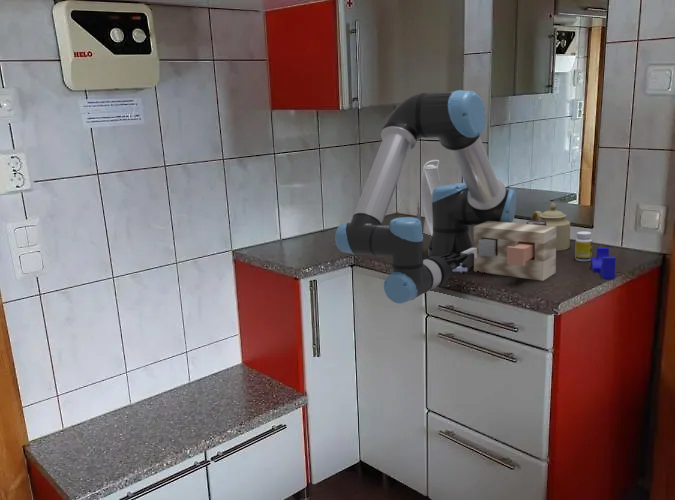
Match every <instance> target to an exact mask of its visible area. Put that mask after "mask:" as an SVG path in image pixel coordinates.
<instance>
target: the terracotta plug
mask: <svg viewBox="0 0 675 500" xmlns="http://www.w3.org/2000/svg"><path fill="white" fill-rule="evenodd" d="M534 256H535V243H531V242H523V243H521V244H519V245H517V246H515V247H511V246H508V247H507V264H510V265H518V266H525V262H526V261H527V260H529V259H531V258H533V257H534Z"/></svg>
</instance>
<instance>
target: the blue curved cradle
mask: <svg viewBox="0 0 675 500" xmlns="http://www.w3.org/2000/svg"><path fill="white" fill-rule="evenodd" d="M609 250H610V248H609V247H596V257H592V258H591V260H590V269H591V270H592V272H593V273H594V274H595V273H599V275H600V277H601V278H602V280H615V277H616V276H615V275H616V257H615V256H609V255H610V253H609V252H610V251H609Z"/></svg>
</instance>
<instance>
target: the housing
mask: <svg viewBox="0 0 675 500" xmlns="http://www.w3.org/2000/svg"><path fill="white" fill-rule="evenodd" d="M556 229H557V227H556V226H544V225H532V224H527V223H518V222H512V223H508V222H496V221H486V222H484V223H481V224H479V225H476V226H475V225H473V244H474V248H477V258H475V259H473V271H474V272H477V271H479V273H484V272H485V273H486V274H492V275H498V276H507V277H513V278H520V279H529V280H535V281H542V282H544V281H545V280H547V279H548V278H549V277H552V275H555V274H556V269H557V267H556V266H557V251H556ZM487 238H492V239H498V252H497V253H496V257H488V256H480V255H479V239H487ZM523 242H531V243H535V256H534V257H533V258H531V259H529V260H527V261H526V262H525V266H518V265H510V264H507V247H508V246H511V247H515V246H517V245H519V244H521V243H523ZM485 273H484V274H485Z"/></svg>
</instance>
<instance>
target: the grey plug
mask: <svg viewBox="0 0 675 500" xmlns="http://www.w3.org/2000/svg"><path fill="white" fill-rule="evenodd" d="M497 252H498V239H492V238H487V239H479V255H480V256H488V257H496V253H497Z"/></svg>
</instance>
